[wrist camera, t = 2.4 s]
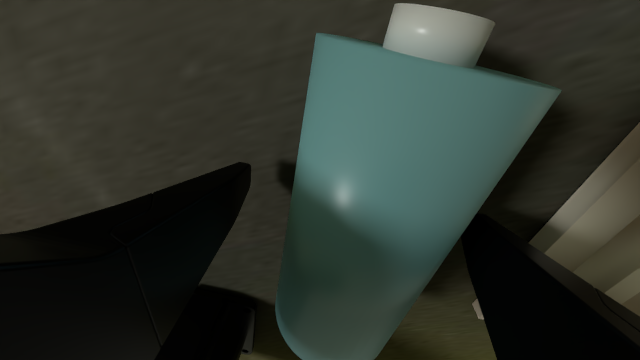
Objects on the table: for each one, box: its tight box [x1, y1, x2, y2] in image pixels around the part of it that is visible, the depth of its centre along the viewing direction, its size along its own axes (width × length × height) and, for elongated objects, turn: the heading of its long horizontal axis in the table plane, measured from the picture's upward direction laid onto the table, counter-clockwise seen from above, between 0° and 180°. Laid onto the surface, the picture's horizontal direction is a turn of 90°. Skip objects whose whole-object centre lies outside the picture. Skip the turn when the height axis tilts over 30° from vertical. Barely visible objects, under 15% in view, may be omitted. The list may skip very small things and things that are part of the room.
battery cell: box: [275, 3, 562, 360], centre depth 8 cm, size 11×5×5 cm, turn 169°
